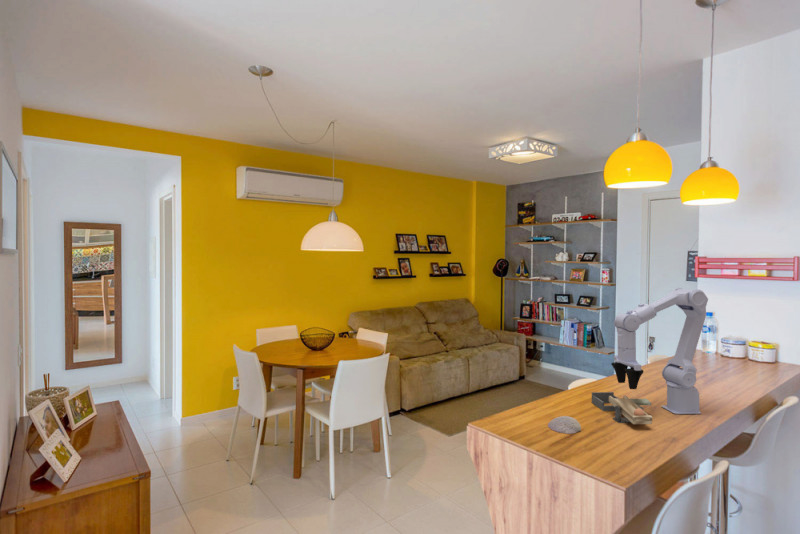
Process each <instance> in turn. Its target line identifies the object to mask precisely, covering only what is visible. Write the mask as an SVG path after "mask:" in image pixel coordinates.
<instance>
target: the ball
mask: <svg viewBox="0 0 800 534" xmlns="http://www.w3.org/2000/svg"><path fill="white" fill-rule="evenodd" d="M644 412H645V411H644V409H643V410H642V409H639V408H637V409H635V410H634V415H635V416H644Z"/></svg>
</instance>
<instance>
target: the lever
mask: <svg viewBox="0 0 800 534" xmlns="http://www.w3.org/2000/svg"><path fill="white" fill-rule="evenodd" d="M609 402H610V403H609V404H611V406H614V407H615V406H619V407H620V408H621V415H623V417H624V418H625V417H626V418H627V419H628V420H629V421H630V422H631V423H630V424H632V425H652V424H653V416H652V415H650V414H648V413H647V412H646V411H644V416H635V415H634V410H635V409H637V408H639V409H641V408H640V407H639V406H651V405H652V402H651V401H650V400H649V399H647V398H630V397H628V396H627V395H623V397H622V398H621V397H620V398H619V397H618V398H613V397H612V396H609ZM637 405H639V406H637Z"/></svg>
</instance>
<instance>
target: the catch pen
mask: <svg viewBox="0 0 800 534" xmlns="http://www.w3.org/2000/svg"><path fill="white" fill-rule="evenodd" d="M609 396H612V397H613V398H619V397H618V396H616V395H615V393H614V391H602V392H601V391H599V392H598V391H597V392H595V391H593V392H592V391H591V403H592V405H594V406H595V407H597V408H598V409H600V410H601V411H602V412H615V407H614V406H613V405H605V404H611V403H610V402H609Z"/></svg>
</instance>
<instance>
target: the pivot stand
mask: <svg viewBox="0 0 800 534" xmlns="http://www.w3.org/2000/svg"><path fill="white" fill-rule="evenodd" d="M637 406H639V407H640V408H641V409H642V410H643V411H644V407H643V406H642V405H637ZM612 420H613V421H614V422H617V424H632V423H631V422H630V421H629V420H628V419H627V418H626V417H625V416H624V417H622V413H621V408H620V407H619V406H615V411H614V417H612Z"/></svg>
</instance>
